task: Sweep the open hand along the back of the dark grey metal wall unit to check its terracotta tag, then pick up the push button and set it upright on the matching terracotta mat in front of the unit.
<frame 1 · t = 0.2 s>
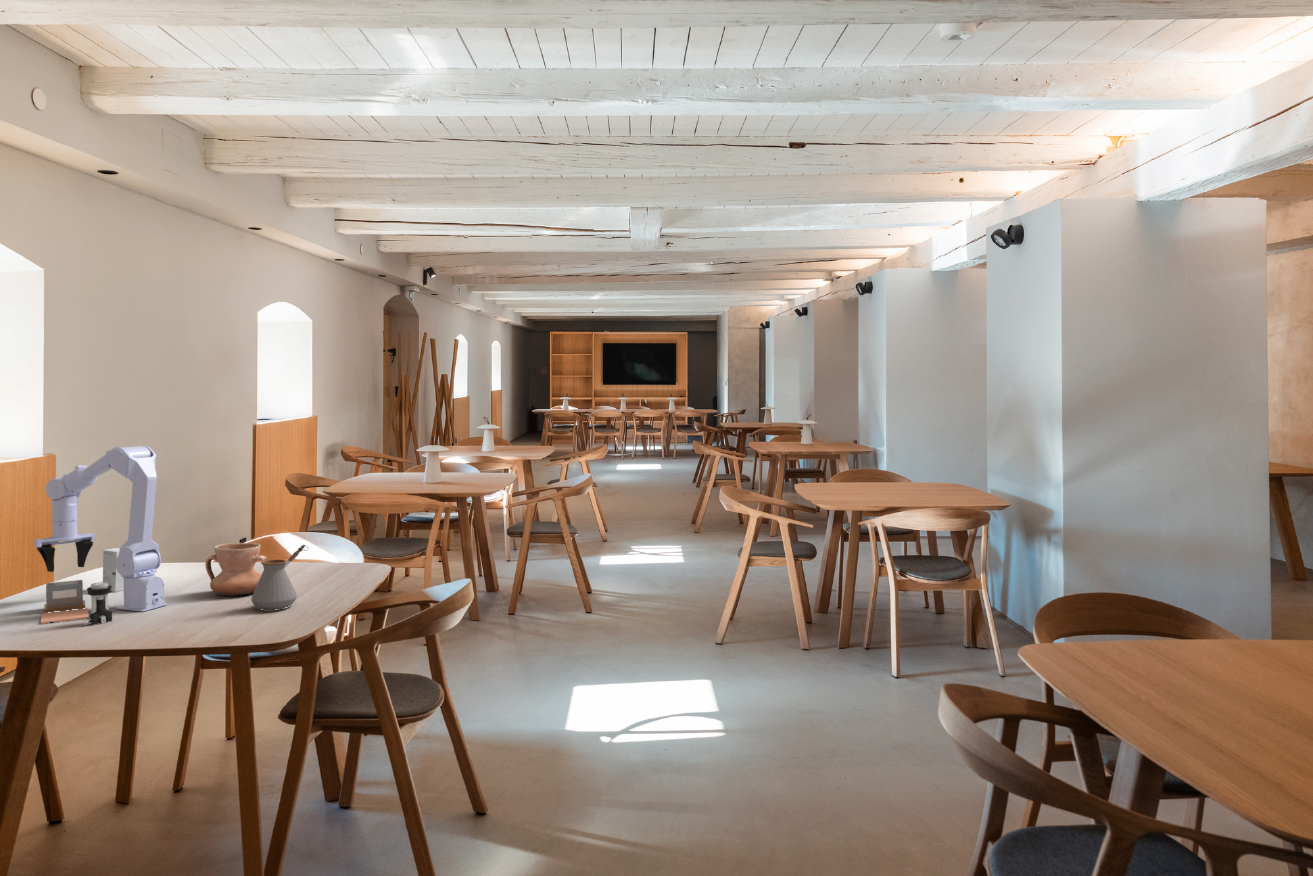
hand: (66, 569, 235), 9 cm above the table, tool pointing down, fingers open, 7 cm apart
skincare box: (116, 590, 249), on the table
wall unit: (65, 608, 227), on the table
coffee pot: (284, 604, 235), on the table
ceramic jug: (236, 593, 247), on the table
terracotta mat: (65, 617, 218), on the table
push button: (97, 624, 213), on the table
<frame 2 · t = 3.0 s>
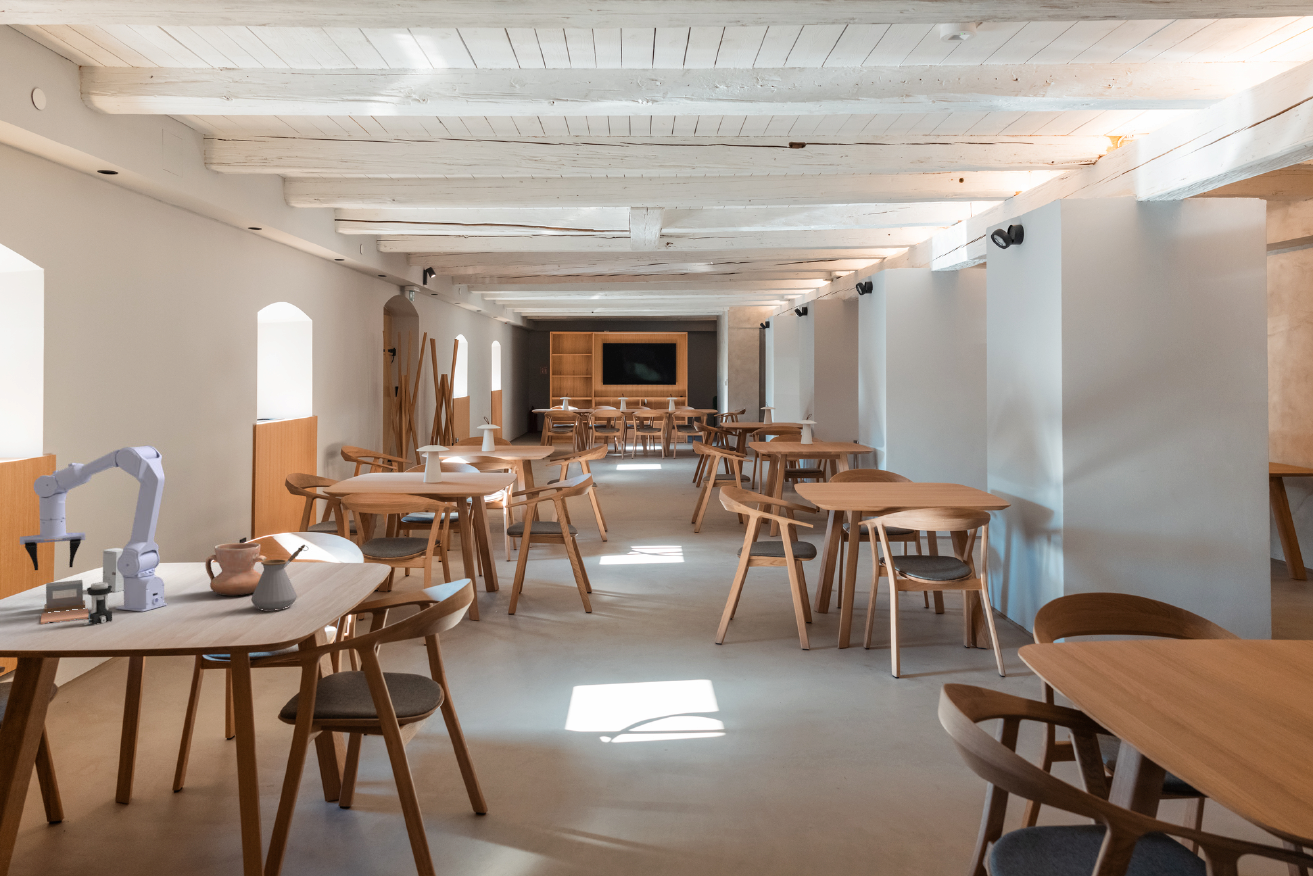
hand: (53, 568, 229), 10 cm above the table, tool pointing down, fingers open, 7 cm apart
nothing on the table moved.
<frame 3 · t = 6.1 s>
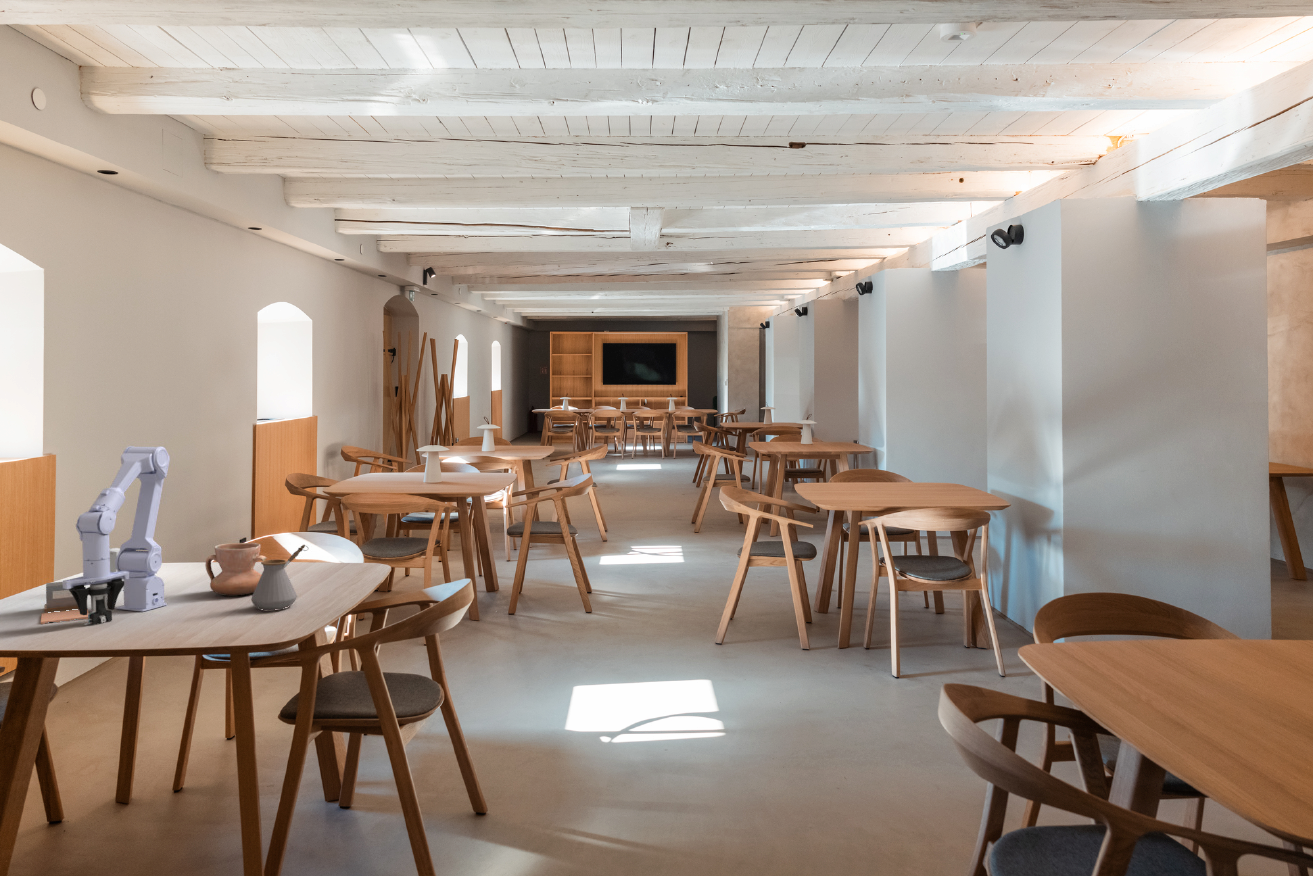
hand: (97, 611, 213), 3 cm above the table, tool pointing down, fingers open, 6 cm apart
push button: (97, 623, 213), on the table, touching gripper
everything else where it was.
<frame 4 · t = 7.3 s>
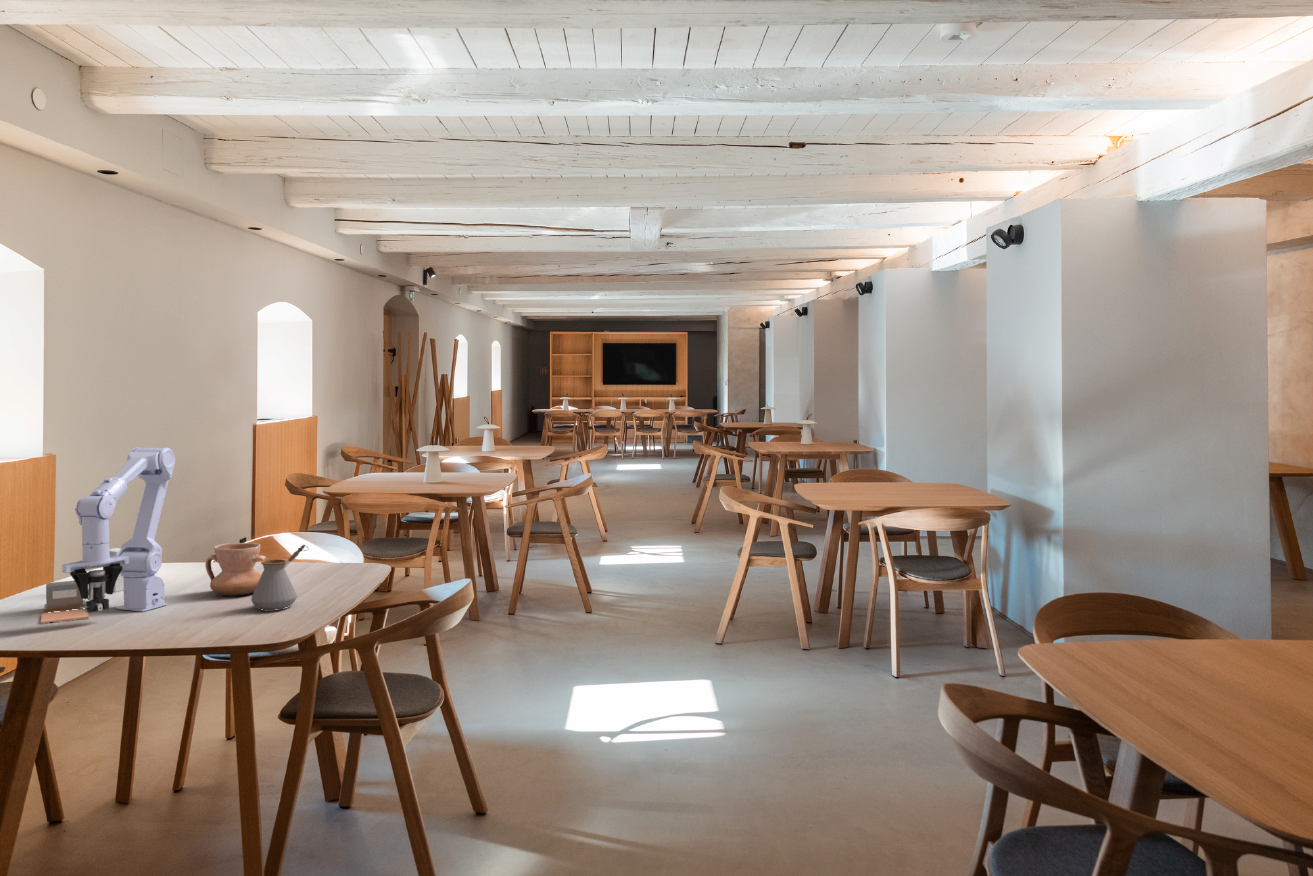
hand: (97, 596, 213), 7 cm above the table, tool pointing down, fingers closed on push button, 5 cm apart
push button: (93, 611, 212), point 3 cm above the table, touching gripper
everything else where it was.
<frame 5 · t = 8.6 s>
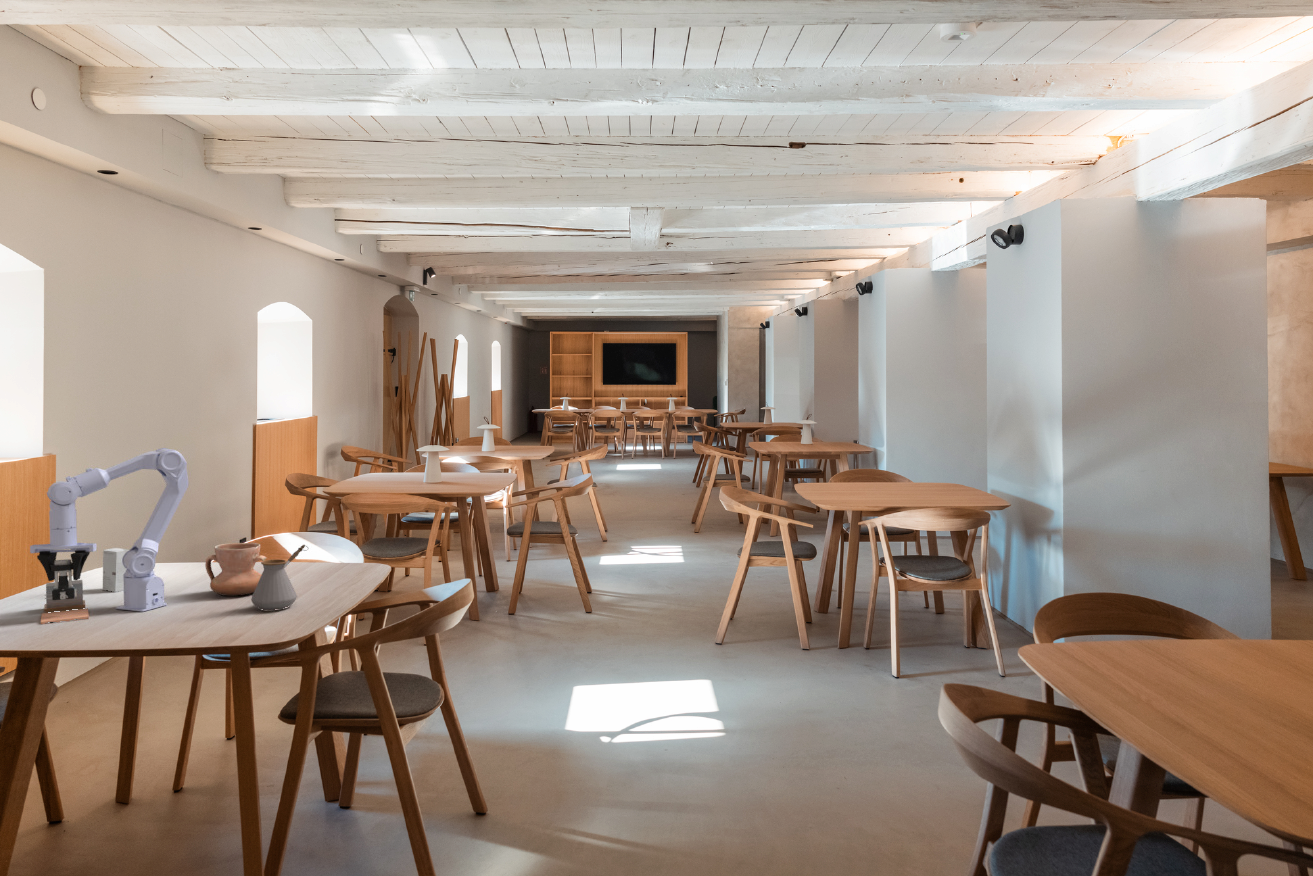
hand: (64, 579, 218), 10 cm above the table, tool pointing down, fingers closed on push button, 5 cm apart
push button: (60, 600, 216), point 5 cm above the table, touching gripper
everything else where it was.
when the fingers open (5 cm above the table, at t = 10.1 s): push button stays where it is, resting on terracotta mat.
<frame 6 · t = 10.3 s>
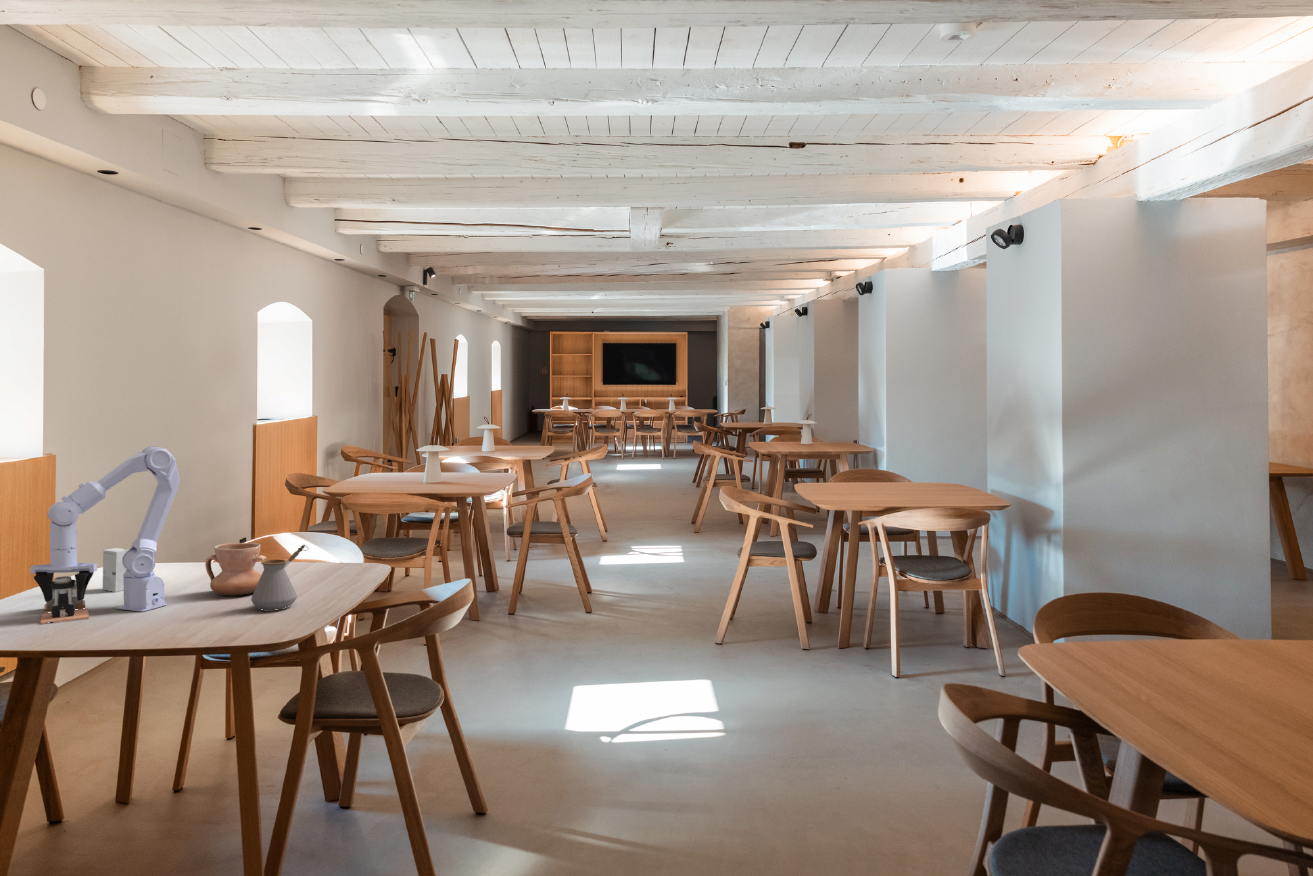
hand: (64, 600, 218), 5 cm above the table, tool pointing down, fingers open, 7 cm apart
push button: (60, 617, 217), resting on terracotta mat
everything else where it was.
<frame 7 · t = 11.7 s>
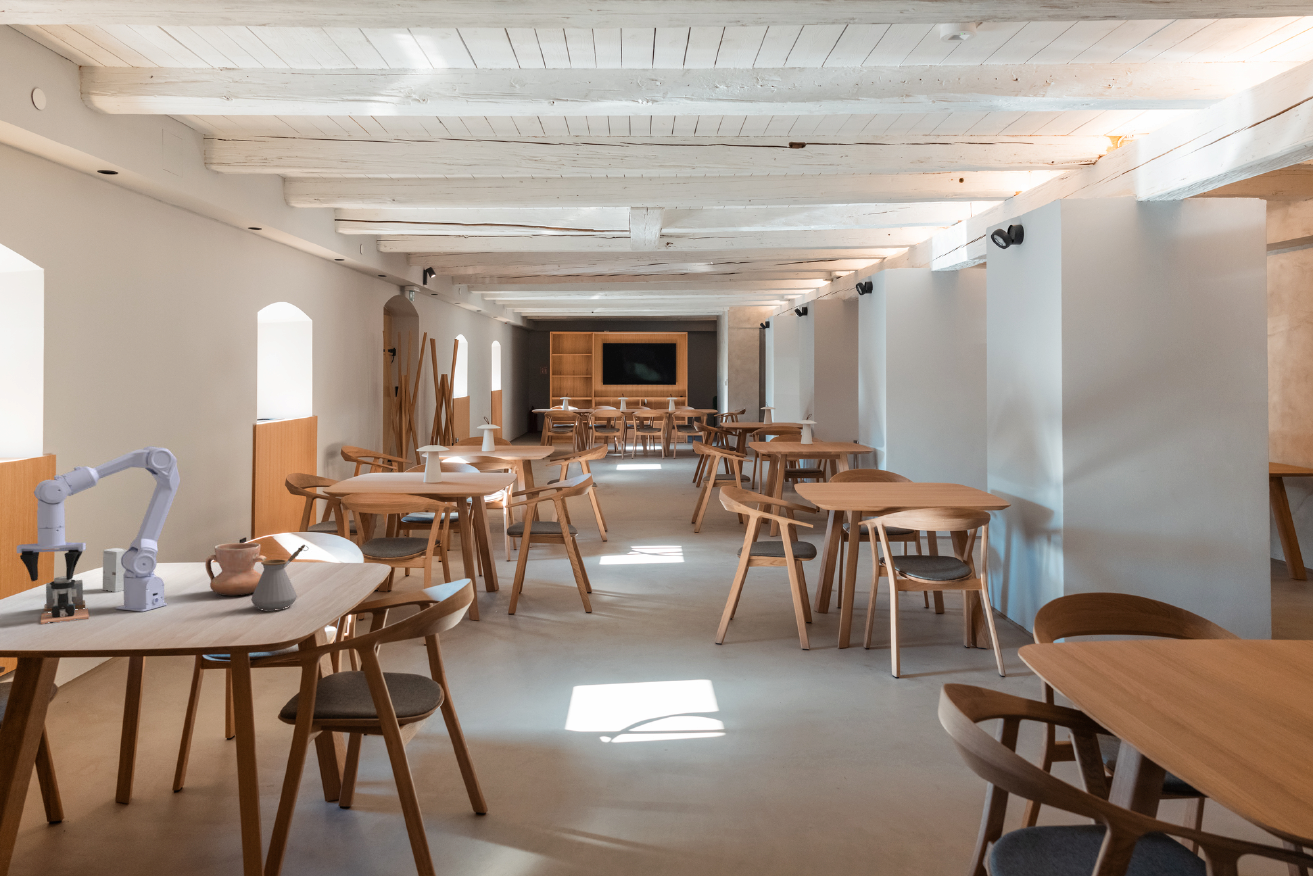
hand: (52, 579, 214), 10 cm above the table, tool pointing down, fingers open, 7 cm apart
push button: (60, 617, 217), resting on terracotta mat, touching gripper
everything else where it was.
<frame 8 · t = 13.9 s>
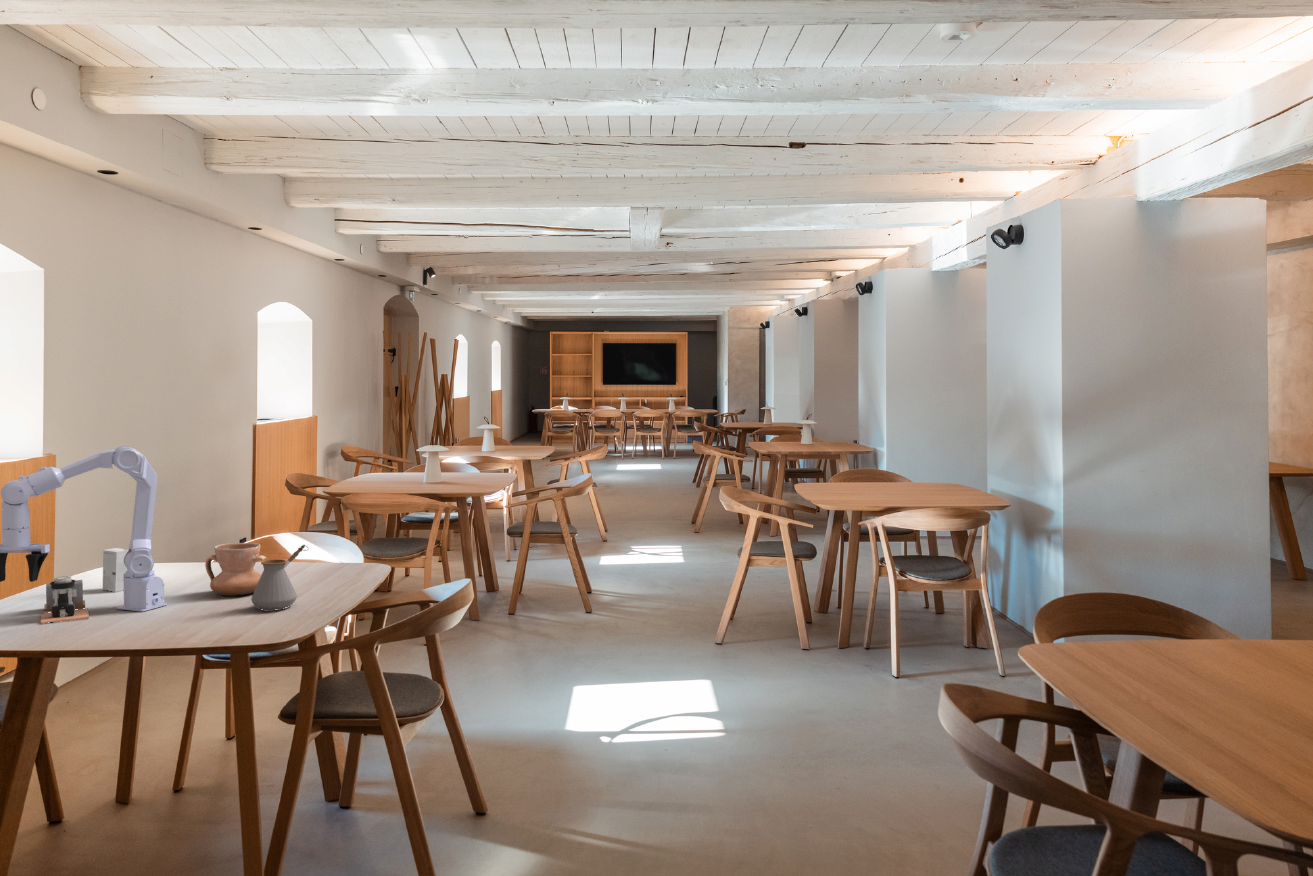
hand: (17, 581, 213), 10 cm above the table, tool pointing down, fingers open, 7 cm apart
push button: (60, 617, 217), resting on terracotta mat
everything else where it was.
at the end: push button 1.5 cm off-centre on the terracotta mat, point 0.4 cm above the terracotta mat's base; push button tilted 0°; the gripper is holding nothing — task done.
